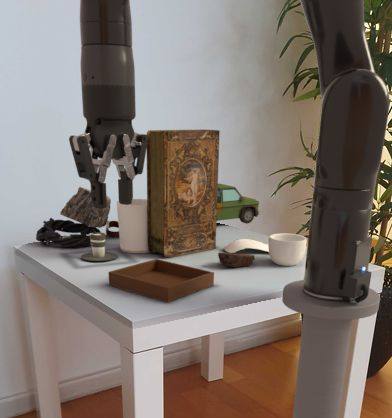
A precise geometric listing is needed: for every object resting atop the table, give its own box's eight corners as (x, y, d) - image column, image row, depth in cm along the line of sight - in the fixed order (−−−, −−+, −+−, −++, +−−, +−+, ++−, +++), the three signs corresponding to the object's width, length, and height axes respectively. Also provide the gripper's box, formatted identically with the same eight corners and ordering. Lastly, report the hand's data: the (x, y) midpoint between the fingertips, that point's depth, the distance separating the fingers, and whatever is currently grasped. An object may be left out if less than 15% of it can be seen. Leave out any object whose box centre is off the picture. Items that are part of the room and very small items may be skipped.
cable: (53, 231, 139) (52, 213, 138) (108, 234, 139) (108, 216, 137) (31, 246, 124) (29, 227, 122) (93, 249, 123) (92, 230, 121)
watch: (107, 230, 141) (104, 216, 139) (125, 227, 141) (122, 214, 139) (105, 241, 134) (101, 227, 132) (124, 238, 134) (121, 224, 132)
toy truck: (261, 223, 154) (263, 185, 150) (195, 230, 144) (195, 191, 140) (239, 216, 163) (240, 180, 159) (174, 223, 153) (174, 185, 149)
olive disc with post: (135, 260, 114) (134, 236, 112) (77, 266, 109) (75, 241, 107) (116, 248, 124) (116, 225, 122) (63, 252, 119) (61, 229, 117)
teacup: (308, 268, 112) (311, 241, 110) (271, 268, 112) (273, 241, 109) (296, 255, 121) (298, 231, 119) (262, 255, 121) (263, 231, 119)
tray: (213, 285, 100) (214, 272, 99) (167, 302, 91) (167, 287, 90) (156, 271, 108) (156, 258, 107) (108, 285, 99) (108, 271, 98)
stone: (212, 265, 112) (212, 250, 111) (232, 259, 118) (233, 244, 116) (238, 272, 109) (240, 256, 107) (258, 265, 114) (260, 250, 113)
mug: (146, 255, 119) (145, 206, 115) (110, 250, 122) (108, 203, 118) (169, 245, 128) (169, 199, 124) (136, 241, 131) (135, 196, 127)
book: (202, 243, 131) (205, 129, 121) (219, 247, 127) (223, 130, 117) (147, 253, 120) (145, 130, 110) (163, 258, 117) (163, 131, 107)
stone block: (68, 181, 123) (56, 213, 125) (105, 199, 124) (92, 231, 126) (85, 185, 137) (73, 214, 139) (118, 201, 138) (106, 229, 139)
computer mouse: (276, 257, 120) (276, 244, 119) (221, 255, 123) (221, 243, 121) (279, 247, 128) (280, 235, 127) (228, 246, 130) (228, 234, 129)
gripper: (87, 80, 71) (94, 215, 78) (161, 85, 81) (162, 203, 88) (50, 81, 75) (60, 208, 82) (125, 85, 86) (128, 198, 93)
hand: (113, 205), depth 85 cm, fingers open, 4 cm apart
